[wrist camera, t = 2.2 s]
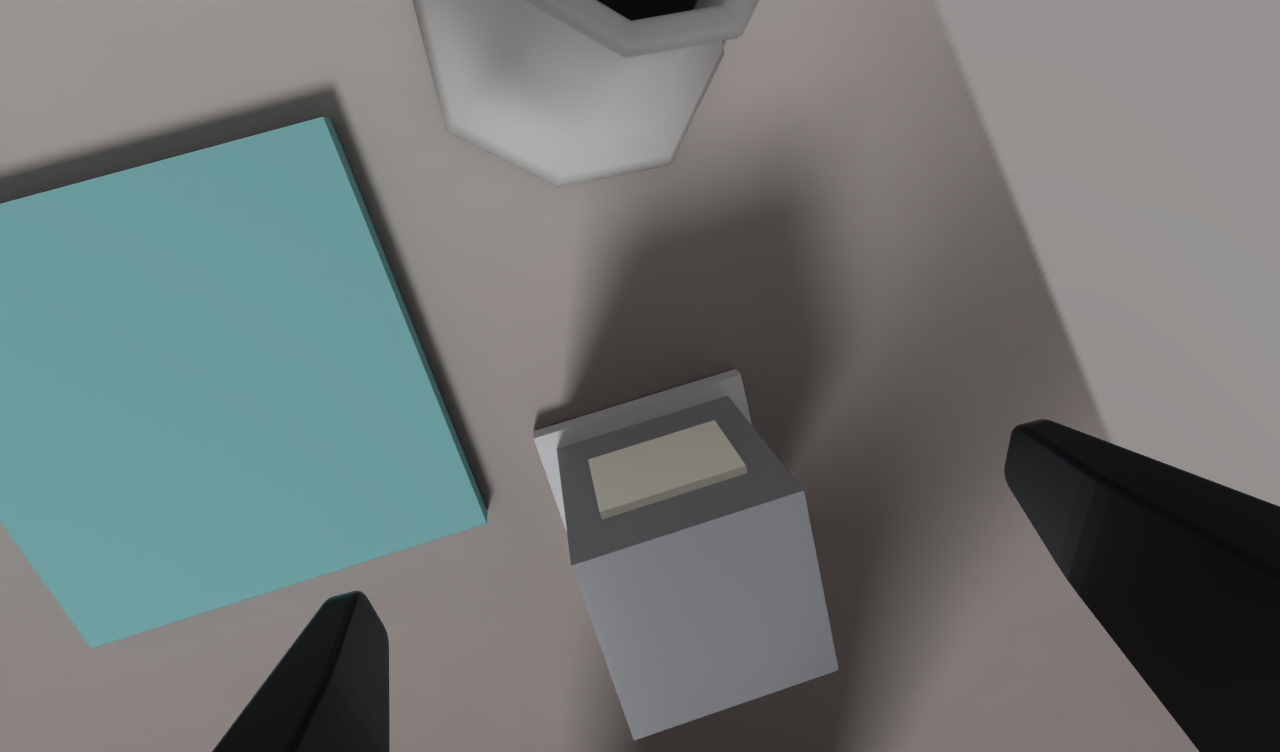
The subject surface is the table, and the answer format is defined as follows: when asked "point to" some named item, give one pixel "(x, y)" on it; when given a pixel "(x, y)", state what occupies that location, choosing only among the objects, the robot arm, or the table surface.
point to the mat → (213, 386)
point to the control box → (689, 552)
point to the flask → (576, 77)
